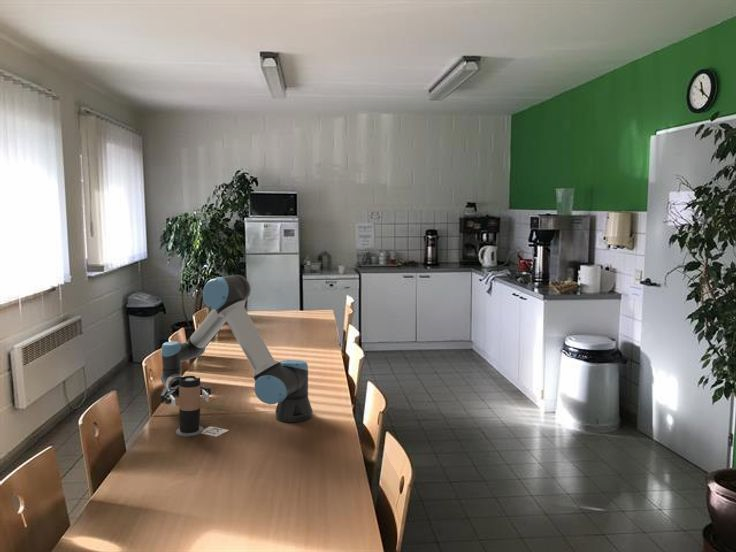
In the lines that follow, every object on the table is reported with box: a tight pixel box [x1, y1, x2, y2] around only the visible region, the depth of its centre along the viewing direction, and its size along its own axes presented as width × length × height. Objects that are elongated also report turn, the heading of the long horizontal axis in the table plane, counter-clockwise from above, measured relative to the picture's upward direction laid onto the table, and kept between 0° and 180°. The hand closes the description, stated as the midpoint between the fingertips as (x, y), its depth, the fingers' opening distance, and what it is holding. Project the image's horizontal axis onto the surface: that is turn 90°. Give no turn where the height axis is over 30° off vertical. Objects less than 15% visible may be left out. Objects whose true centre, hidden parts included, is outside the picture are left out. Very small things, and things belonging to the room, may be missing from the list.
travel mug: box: [178, 375, 201, 433], centre depth 223 cm, size 8×8×20 cm
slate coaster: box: [175, 425, 205, 438], centre depth 224 cm, size 10×10×1 cm
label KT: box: [201, 425, 230, 438], centre depth 224 cm, size 9×7×1 cm
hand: (191, 400), depth 219 cm, fingers open, 11 cm apart
